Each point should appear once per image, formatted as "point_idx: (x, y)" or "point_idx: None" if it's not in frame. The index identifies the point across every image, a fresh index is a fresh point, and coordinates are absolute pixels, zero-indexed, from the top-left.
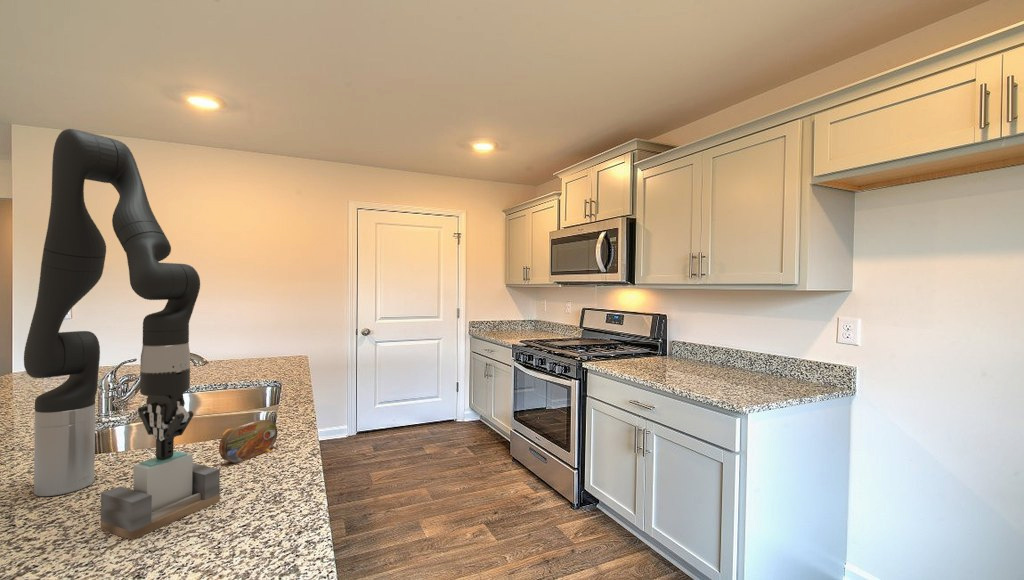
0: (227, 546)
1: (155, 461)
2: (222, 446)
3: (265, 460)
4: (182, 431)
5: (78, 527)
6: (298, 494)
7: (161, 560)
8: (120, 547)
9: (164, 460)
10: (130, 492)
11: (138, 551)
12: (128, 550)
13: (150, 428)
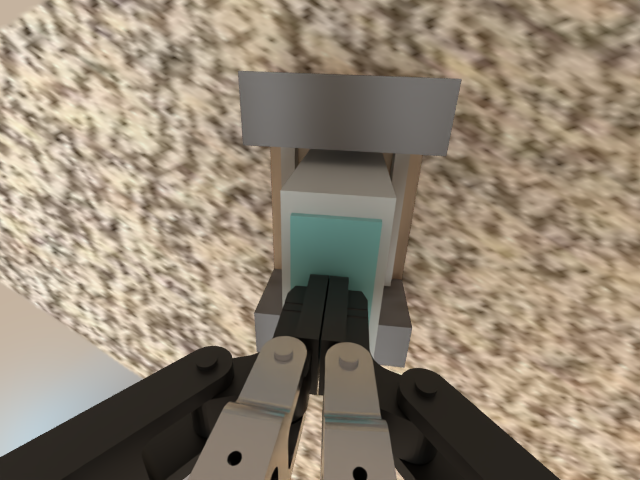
0: (46, 148)
1: (322, 254)
2: None
3: None
4: (173, 425)
5: (514, 58)
6: (155, 356)
7: (100, 37)
8: (263, 34)
9: (297, 275)
10: (343, 130)
11: (197, 42)
12: (226, 33)
13: (417, 413)
